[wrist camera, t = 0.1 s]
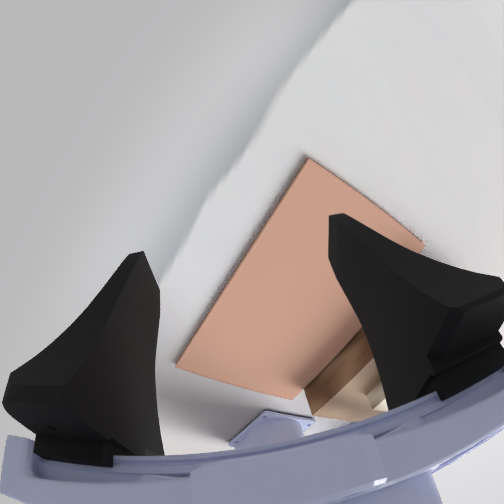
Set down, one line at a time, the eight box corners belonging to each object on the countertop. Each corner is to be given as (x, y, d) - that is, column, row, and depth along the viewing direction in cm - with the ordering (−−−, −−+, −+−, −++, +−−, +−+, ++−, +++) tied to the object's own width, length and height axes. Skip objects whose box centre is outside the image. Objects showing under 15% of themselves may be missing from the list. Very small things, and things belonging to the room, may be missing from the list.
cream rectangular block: (396, 401, 30) (403, 413, 28) (366, 395, 28) (372, 409, 26) (450, 347, 27) (459, 359, 26) (425, 334, 25) (435, 348, 24)
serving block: (378, 403, 37) (389, 424, 33) (303, 387, 32) (312, 415, 28) (469, 306, 31) (487, 325, 27) (412, 261, 26) (436, 283, 23)
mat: (291, 397, 33) (291, 399, 32) (175, 363, 28) (175, 366, 28) (423, 243, 25) (425, 245, 25) (307, 157, 21) (309, 158, 20)
